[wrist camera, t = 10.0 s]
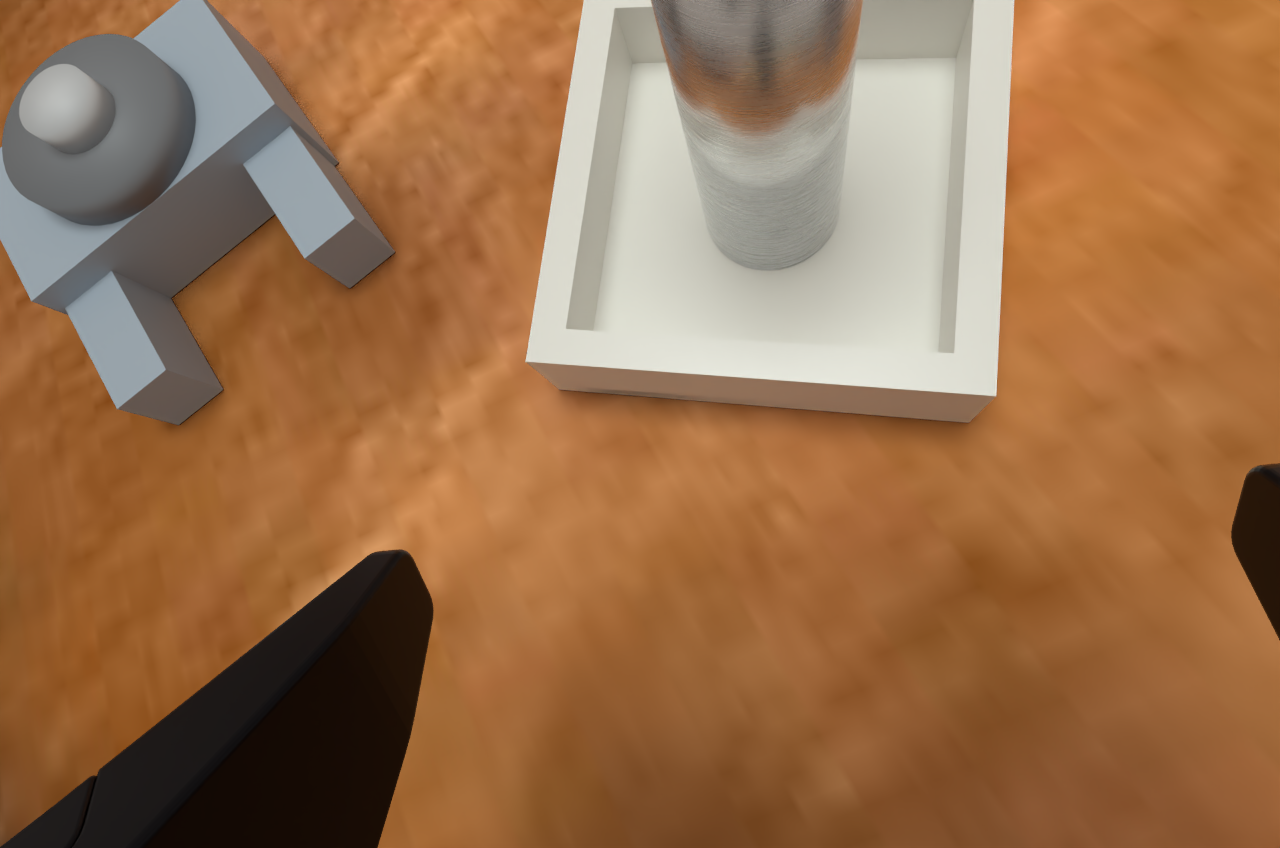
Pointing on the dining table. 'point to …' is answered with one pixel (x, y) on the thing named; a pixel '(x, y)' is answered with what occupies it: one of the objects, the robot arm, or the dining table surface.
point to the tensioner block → (163, 193)
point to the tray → (815, 289)
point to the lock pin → (764, 117)
